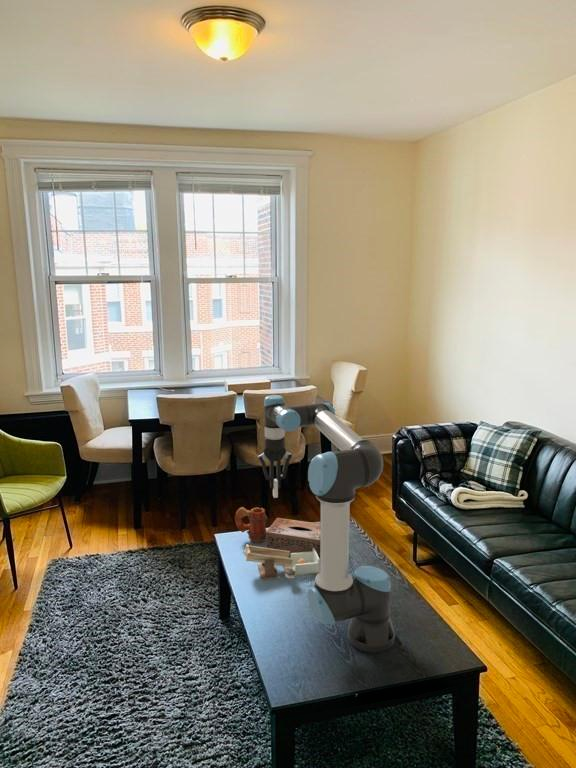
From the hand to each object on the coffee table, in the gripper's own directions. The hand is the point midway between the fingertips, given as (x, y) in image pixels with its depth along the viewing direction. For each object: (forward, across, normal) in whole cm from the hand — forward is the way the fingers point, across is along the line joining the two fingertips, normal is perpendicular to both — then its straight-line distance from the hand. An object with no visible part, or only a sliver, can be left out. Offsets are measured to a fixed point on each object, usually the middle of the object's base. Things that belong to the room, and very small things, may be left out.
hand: (275, 496), depth 213 cm
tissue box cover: (+33, -13, -17) cm, 39 cm away
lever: (+27, +3, +2) cm, 27 cm away
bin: (+32, -12, -2) cm, 34 cm away
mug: (+33, +6, -30) cm, 45 cm away
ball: (+30, -11, -2) cm, 32 cm away
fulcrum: (+32, +3, -2) cm, 33 cm away
